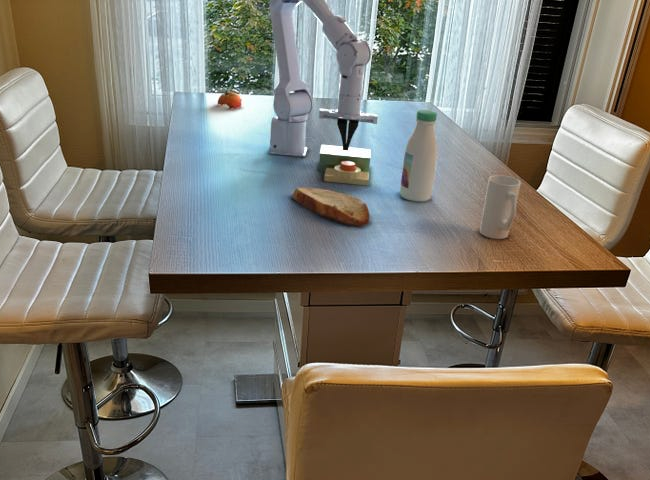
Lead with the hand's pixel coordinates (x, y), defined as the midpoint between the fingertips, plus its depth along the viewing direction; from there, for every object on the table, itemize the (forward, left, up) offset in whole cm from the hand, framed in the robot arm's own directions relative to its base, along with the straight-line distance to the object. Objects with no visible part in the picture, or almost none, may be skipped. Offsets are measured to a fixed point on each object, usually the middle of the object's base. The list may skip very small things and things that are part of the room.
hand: (345, 149), depth 180 cm
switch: (+1, -8, -3) cm, 8 cm away
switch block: (+1, -7, -6) cm, 9 cm away
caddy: (0, +1, -6) cm, 6 cm away
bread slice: (-2, -30, -6) cm, 31 cm away
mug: (+35, -36, -6) cm, 51 cm away
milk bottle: (+18, -15, -6) cm, 24 cm away
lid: (0, +1, -1) cm, 2 cm away
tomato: (-40, +56, -6) cm, 69 cm away
